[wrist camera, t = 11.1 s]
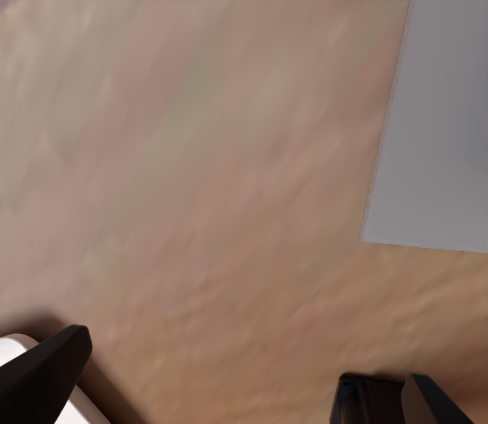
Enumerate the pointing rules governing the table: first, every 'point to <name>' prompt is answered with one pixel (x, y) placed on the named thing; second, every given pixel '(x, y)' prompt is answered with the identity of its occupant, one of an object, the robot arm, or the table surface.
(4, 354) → the salad plate
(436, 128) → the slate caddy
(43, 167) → the table surface
